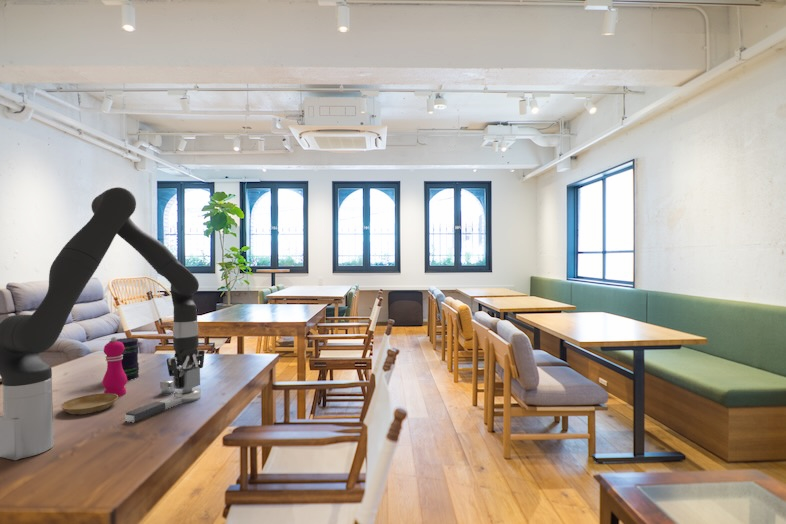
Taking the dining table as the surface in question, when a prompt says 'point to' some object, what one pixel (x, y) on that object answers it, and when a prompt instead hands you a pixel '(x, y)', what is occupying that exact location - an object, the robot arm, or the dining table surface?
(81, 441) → the dining table surface
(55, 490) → the dining table surface
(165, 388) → the socket
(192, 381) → the socket
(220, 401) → the dining table surface
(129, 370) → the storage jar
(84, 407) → the plant saucer
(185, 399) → the ratchet
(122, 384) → the pepper mill
